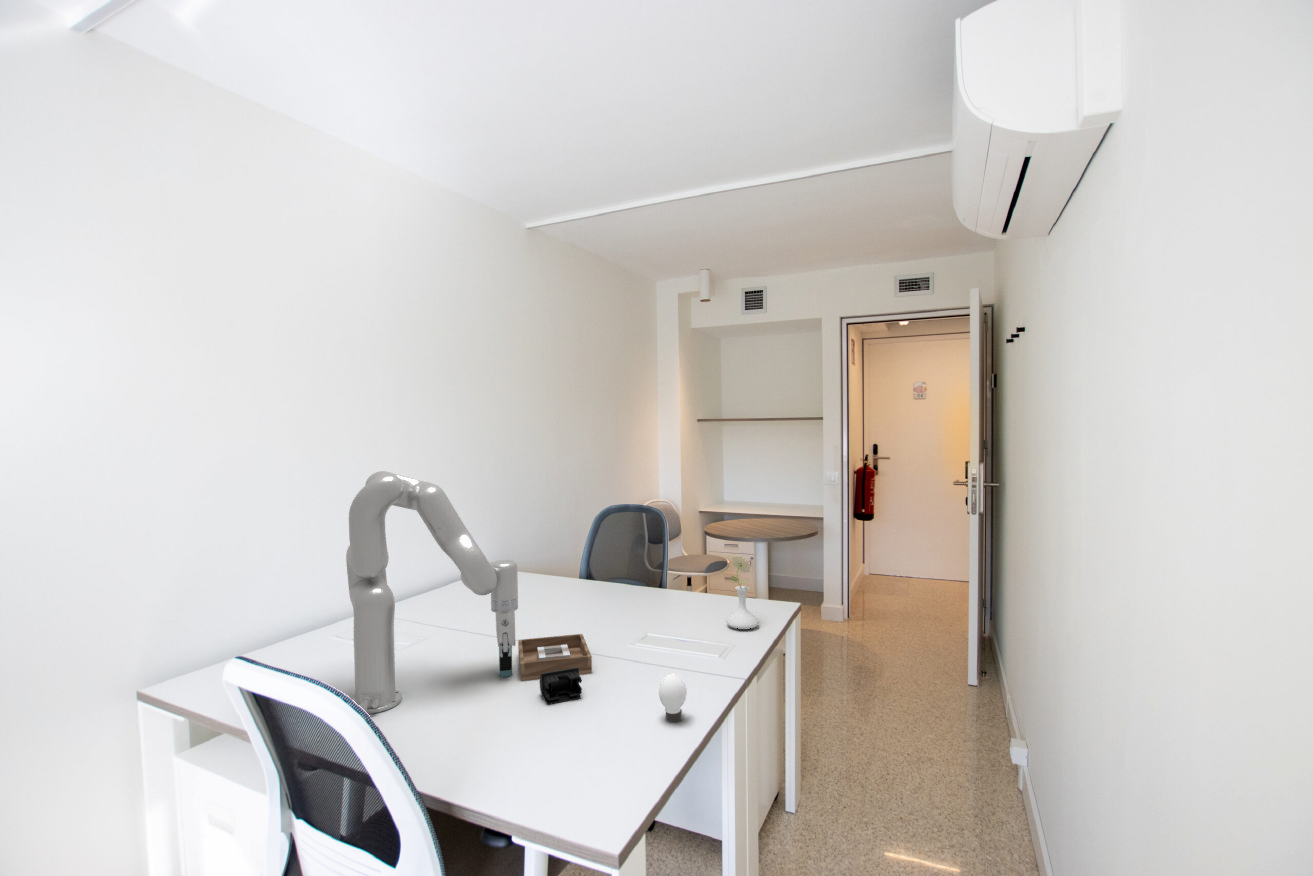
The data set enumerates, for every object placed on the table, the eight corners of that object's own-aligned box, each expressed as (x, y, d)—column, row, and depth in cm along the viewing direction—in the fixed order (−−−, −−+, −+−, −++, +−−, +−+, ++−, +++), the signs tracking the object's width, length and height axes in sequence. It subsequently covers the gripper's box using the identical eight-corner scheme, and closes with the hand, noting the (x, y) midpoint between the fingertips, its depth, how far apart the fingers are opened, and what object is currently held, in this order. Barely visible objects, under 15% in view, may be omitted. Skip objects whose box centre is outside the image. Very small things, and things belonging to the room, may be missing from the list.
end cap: (576, 688, 171) (575, 663, 171) (583, 699, 164) (583, 673, 164) (539, 695, 167) (539, 670, 167) (545, 706, 160) (545, 680, 160)
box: (591, 673, 181) (591, 656, 180) (520, 681, 176) (520, 663, 176) (582, 649, 200) (582, 633, 200) (518, 655, 195) (518, 639, 195)
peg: (512, 676, 179) (511, 641, 179) (499, 677, 178) (498, 642, 178) (512, 671, 183) (511, 637, 182) (499, 672, 182) (498, 638, 182)
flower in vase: (765, 629, 217) (764, 557, 216) (736, 634, 213) (735, 560, 212) (746, 618, 229) (745, 550, 228) (718, 622, 225) (717, 553, 224)
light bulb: (692, 718, 153) (691, 673, 152) (674, 728, 148) (674, 682, 147) (671, 710, 157) (670, 666, 157) (653, 719, 152) (652, 674, 152)
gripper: (518, 611, 173) (520, 677, 173) (517, 595, 189) (518, 655, 189) (490, 613, 171) (491, 680, 171) (491, 597, 187) (492, 658, 188)
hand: (505, 666), depth 180 cm, fingers closed on peg, 3 cm apart
